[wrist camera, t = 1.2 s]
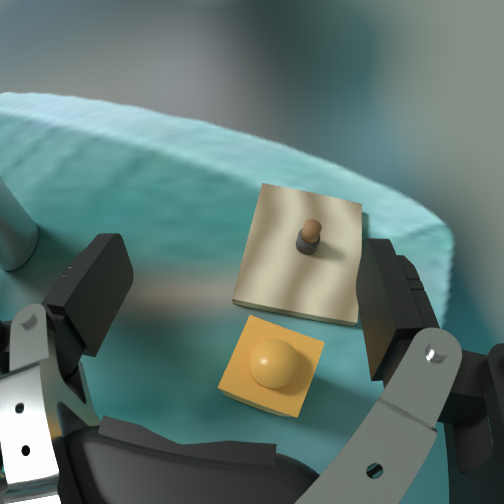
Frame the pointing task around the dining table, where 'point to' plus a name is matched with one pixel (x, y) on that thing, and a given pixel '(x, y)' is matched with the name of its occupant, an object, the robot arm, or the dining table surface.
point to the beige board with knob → (302, 256)
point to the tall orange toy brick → (271, 368)
